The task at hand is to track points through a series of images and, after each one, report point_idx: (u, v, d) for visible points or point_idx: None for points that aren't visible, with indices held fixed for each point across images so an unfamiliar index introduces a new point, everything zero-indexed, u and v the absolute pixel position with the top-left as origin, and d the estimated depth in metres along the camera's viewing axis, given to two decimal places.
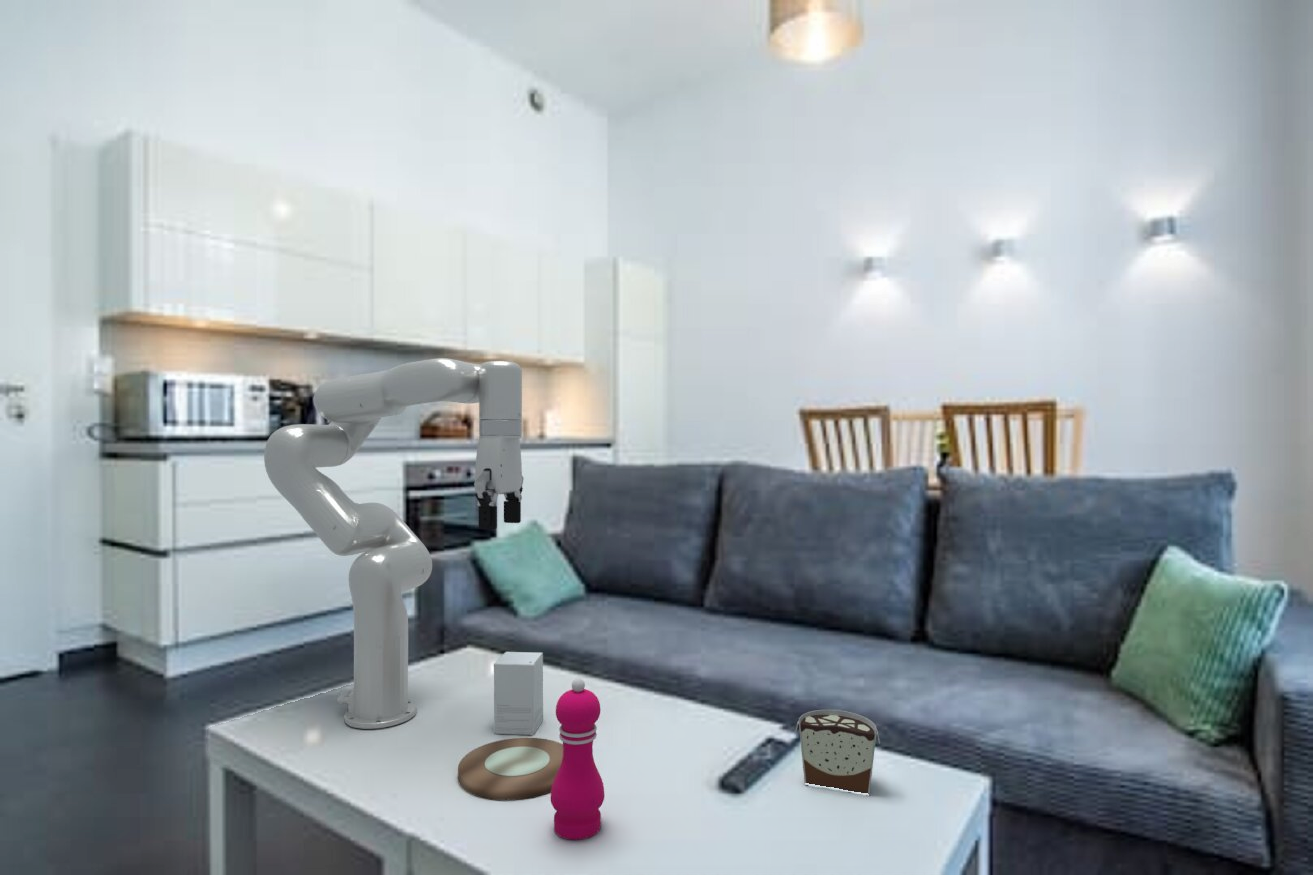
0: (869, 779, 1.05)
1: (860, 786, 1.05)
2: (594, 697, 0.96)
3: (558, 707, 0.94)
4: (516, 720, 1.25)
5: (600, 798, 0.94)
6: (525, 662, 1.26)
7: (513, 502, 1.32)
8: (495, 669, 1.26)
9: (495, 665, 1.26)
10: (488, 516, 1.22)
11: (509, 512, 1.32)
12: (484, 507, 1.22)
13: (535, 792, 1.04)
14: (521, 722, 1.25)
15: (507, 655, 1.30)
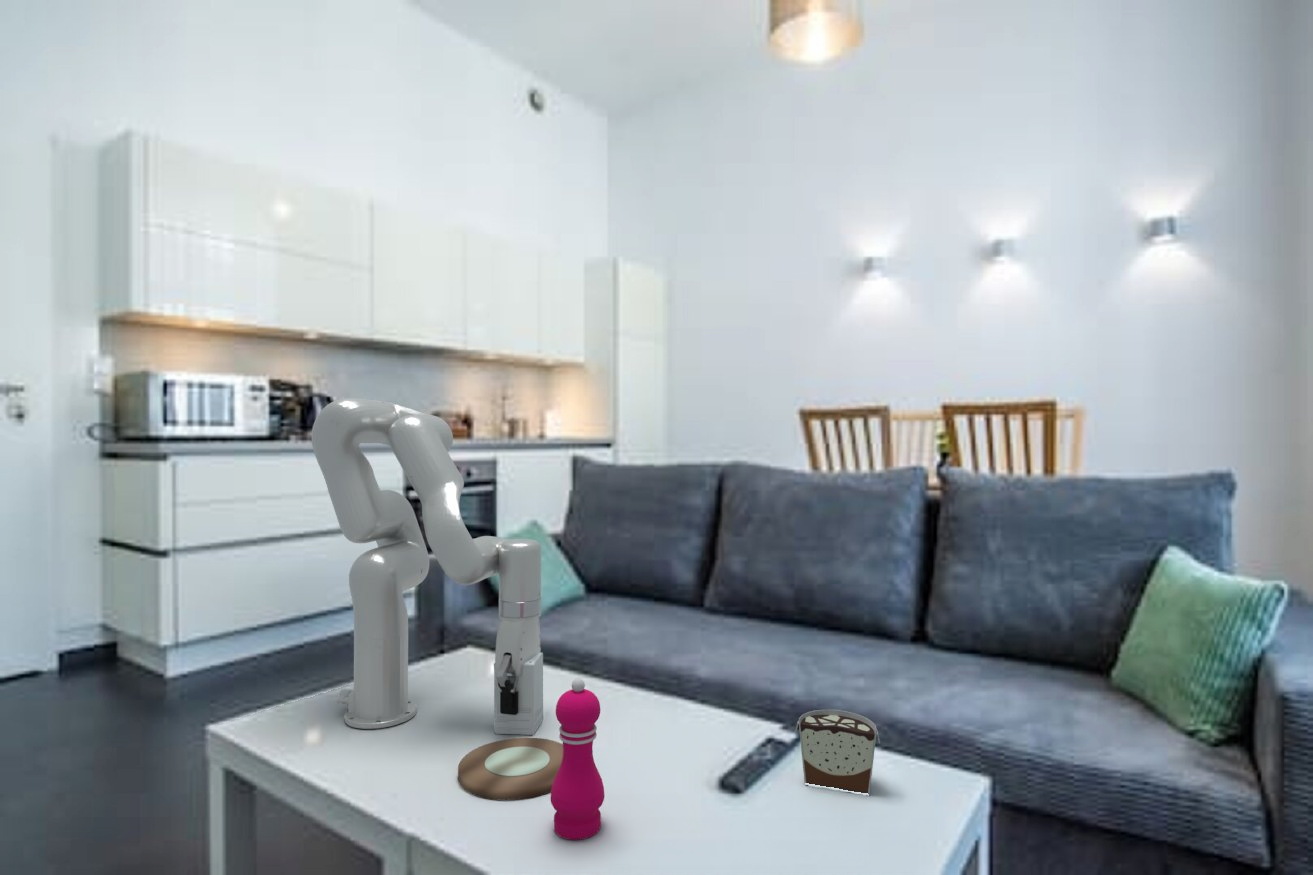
0: (869, 779, 1.05)
1: (860, 786, 1.05)
2: (594, 697, 0.96)
3: (558, 707, 0.94)
4: (516, 720, 1.25)
5: (600, 798, 0.94)
6: None
7: None
8: None
9: None
10: (510, 702, 1.24)
11: None
12: (506, 693, 1.24)
13: (535, 792, 1.04)
14: (521, 721, 1.25)
15: None
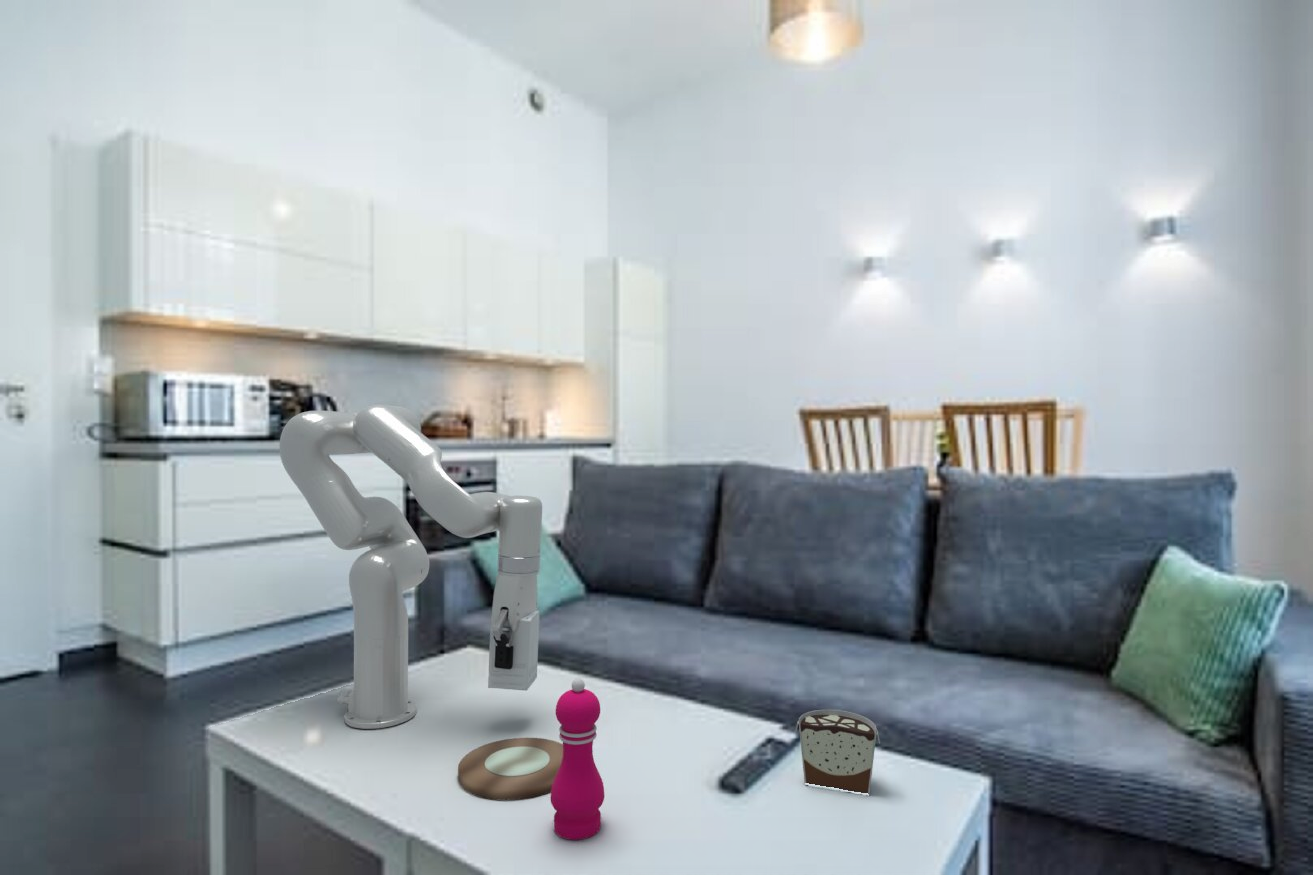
0: (869, 779, 1.05)
1: (860, 786, 1.05)
2: (594, 697, 0.96)
3: (558, 707, 0.94)
4: (510, 675, 1.26)
5: (600, 798, 0.94)
6: None
7: None
8: None
9: None
10: (504, 657, 1.24)
11: None
12: (501, 647, 1.24)
13: (535, 792, 1.04)
14: (515, 677, 1.26)
15: None
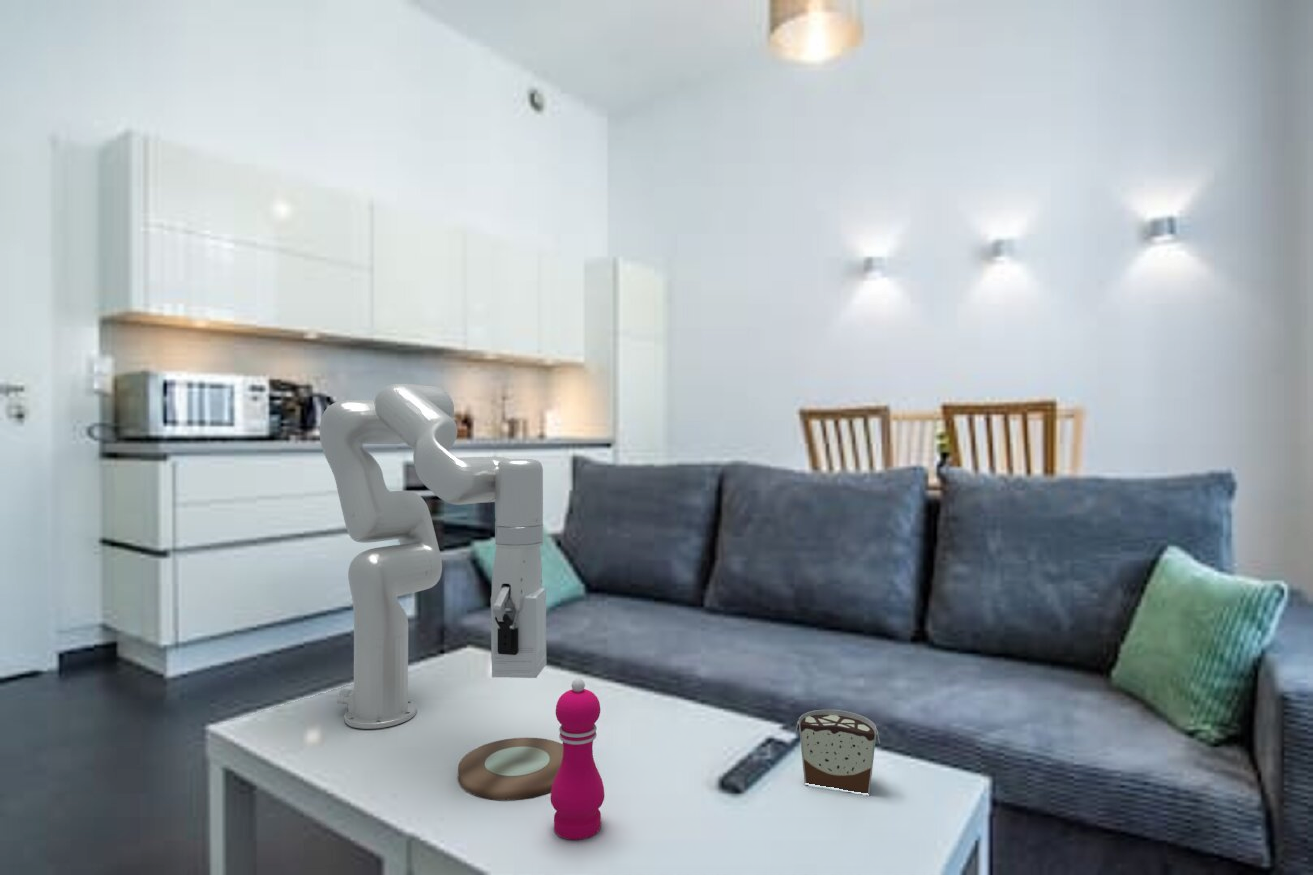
0: (869, 779, 1.05)
1: (860, 786, 1.05)
2: (594, 697, 0.96)
3: (558, 707, 0.94)
4: (516, 661, 1.10)
5: (600, 798, 0.94)
6: None
7: None
8: None
9: None
10: (509, 640, 1.08)
11: None
12: (504, 630, 1.09)
13: (535, 792, 1.04)
14: (522, 663, 1.10)
15: None
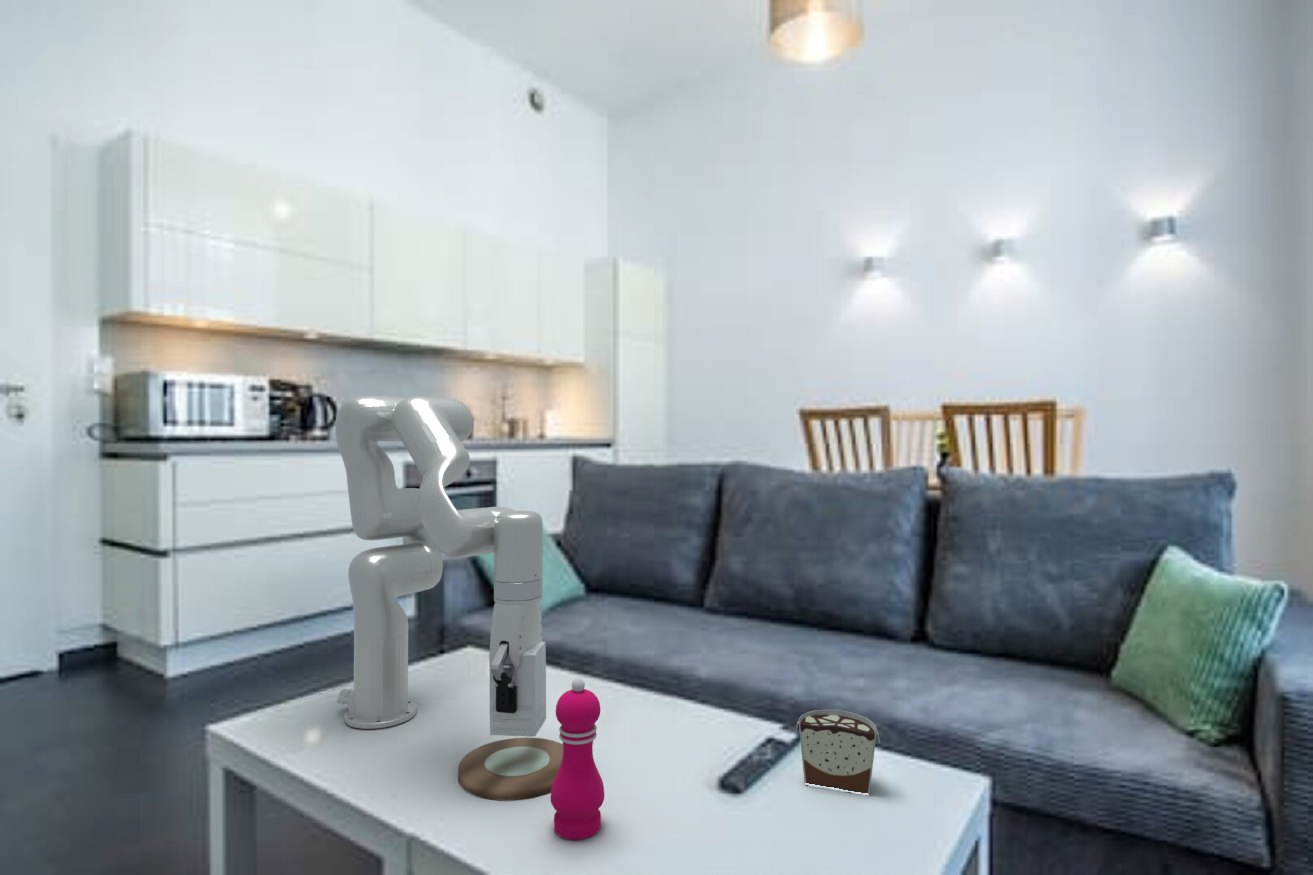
0: (869, 779, 1.05)
1: (860, 786, 1.05)
2: (594, 697, 0.96)
3: (558, 707, 0.94)
4: (515, 719, 1.08)
5: (600, 798, 0.94)
6: None
7: None
8: None
9: None
10: (507, 699, 1.07)
11: None
12: (502, 688, 1.07)
13: (535, 792, 1.04)
14: (521, 721, 1.08)
15: None
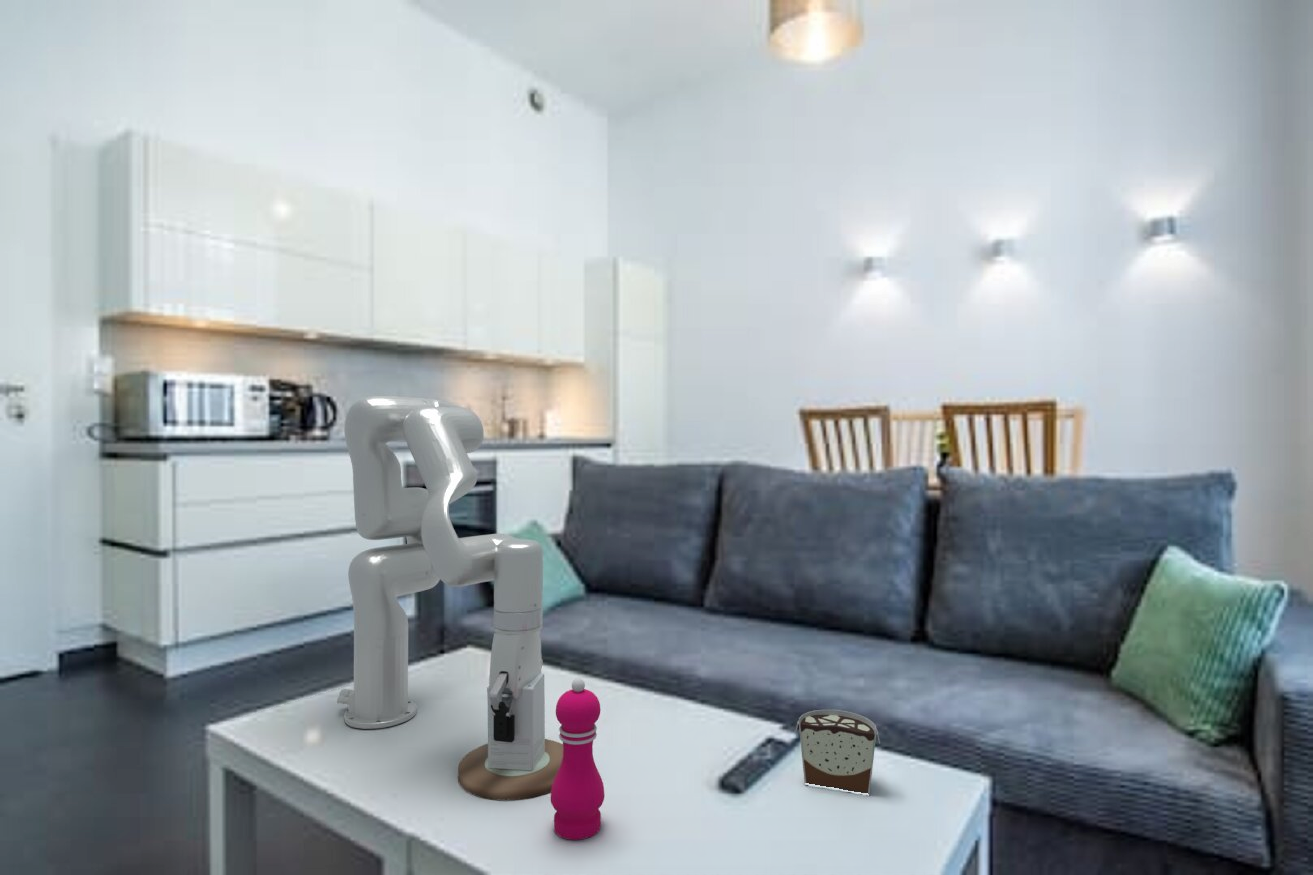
0: (869, 779, 1.05)
1: (860, 786, 1.05)
2: (594, 697, 0.95)
3: (558, 707, 0.94)
4: (513, 753, 1.08)
5: (600, 798, 0.94)
6: None
7: None
8: None
9: None
10: (505, 728, 1.06)
11: None
12: (500, 717, 1.06)
13: (535, 792, 1.04)
14: (518, 755, 1.08)
15: None
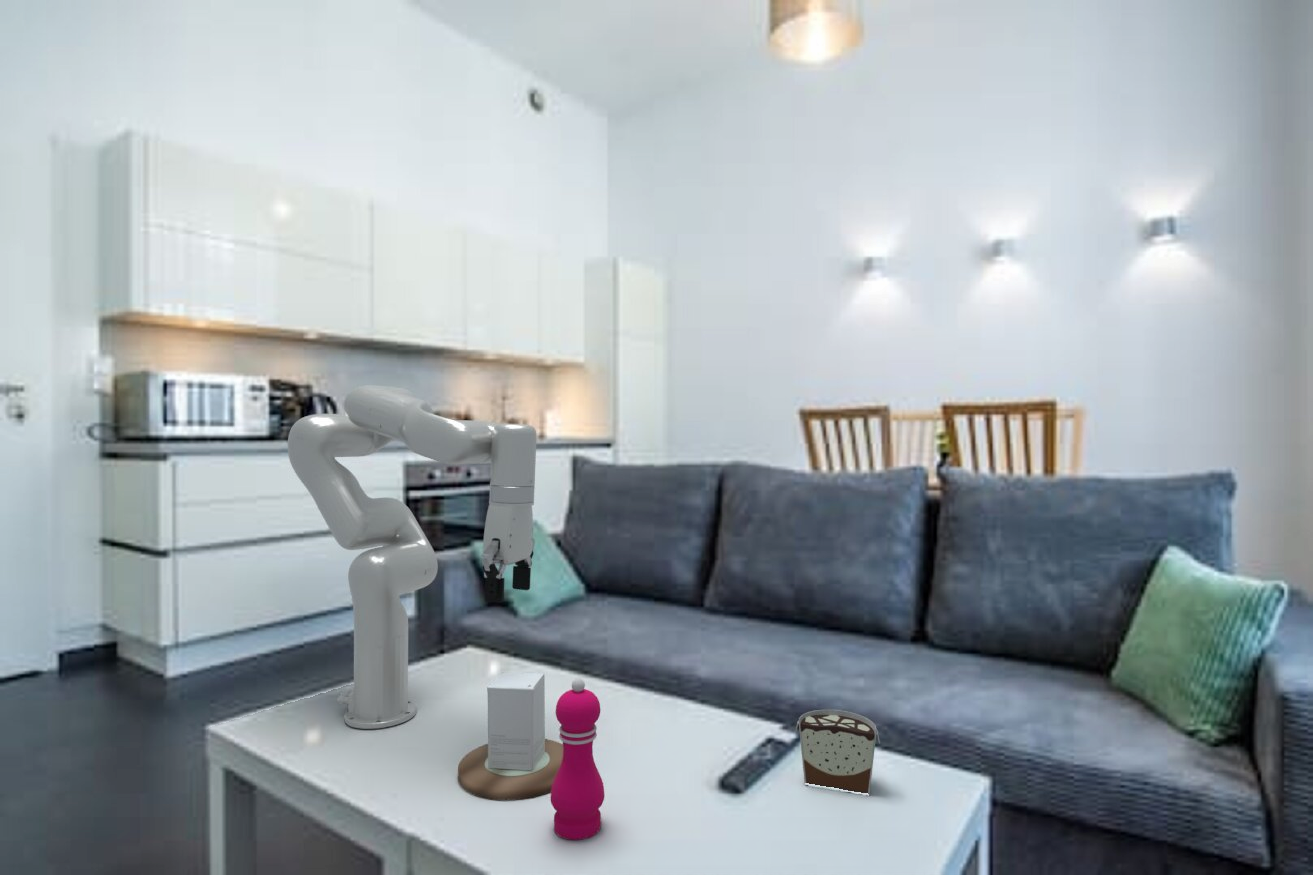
0: (869, 779, 1.05)
1: (860, 786, 1.05)
2: (594, 697, 0.96)
3: (558, 707, 0.94)
4: (513, 753, 1.08)
5: (600, 798, 0.94)
6: (523, 685, 1.09)
7: (523, 568, 1.26)
8: (489, 694, 1.09)
9: (489, 689, 1.09)
10: (495, 589, 1.16)
11: (518, 578, 1.27)
12: (491, 579, 1.17)
13: (535, 792, 1.04)
14: (518, 755, 1.08)
15: (503, 677, 1.13)
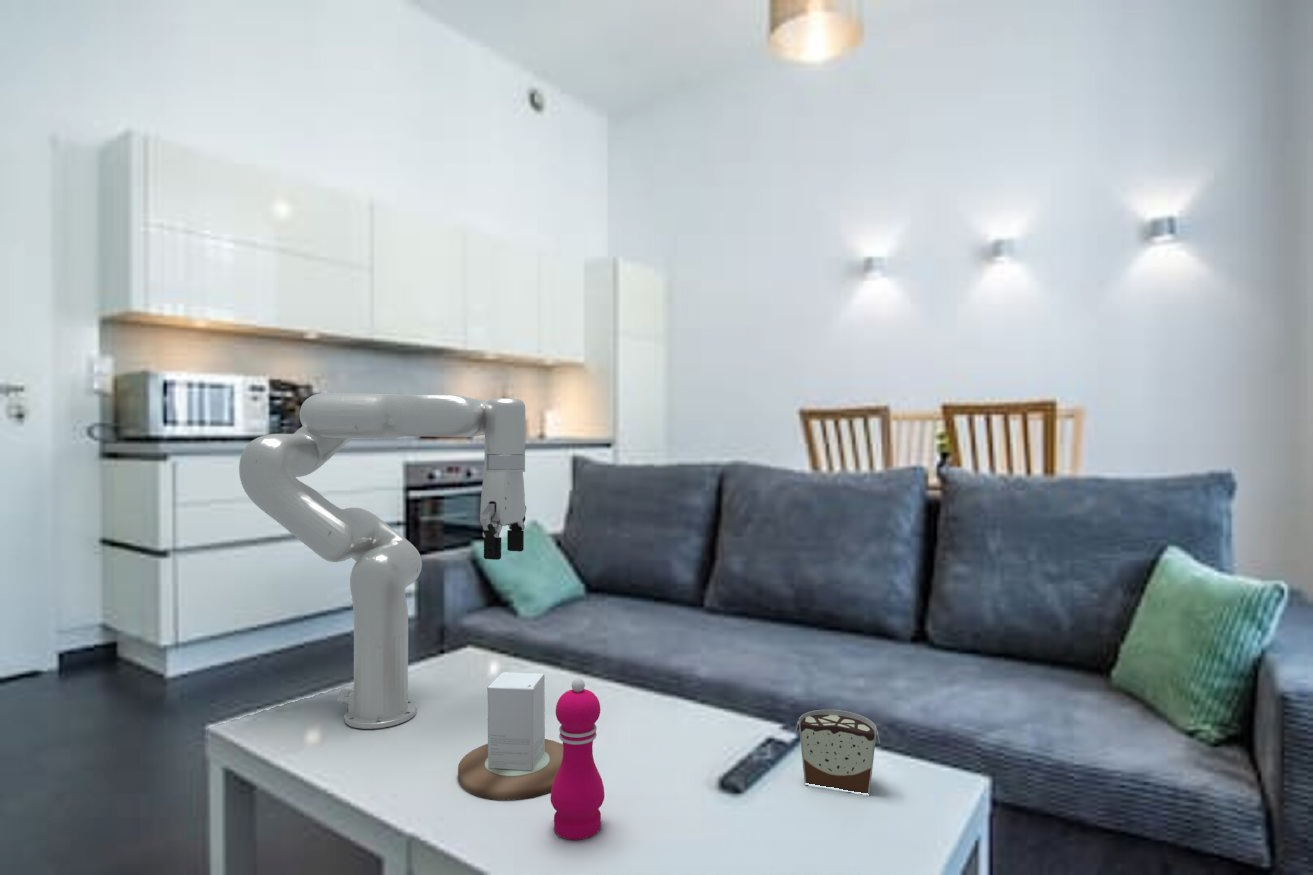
0: (869, 779, 1.05)
1: (860, 786, 1.05)
2: (594, 697, 0.95)
3: (558, 707, 0.94)
4: (513, 753, 1.08)
5: (600, 798, 0.94)
6: (523, 685, 1.09)
7: (516, 531, 1.39)
8: (489, 694, 1.09)
9: (489, 689, 1.09)
10: (493, 547, 1.28)
11: (512, 541, 1.39)
12: (489, 538, 1.29)
13: (535, 792, 1.04)
14: (518, 755, 1.08)
15: (503, 677, 1.13)
